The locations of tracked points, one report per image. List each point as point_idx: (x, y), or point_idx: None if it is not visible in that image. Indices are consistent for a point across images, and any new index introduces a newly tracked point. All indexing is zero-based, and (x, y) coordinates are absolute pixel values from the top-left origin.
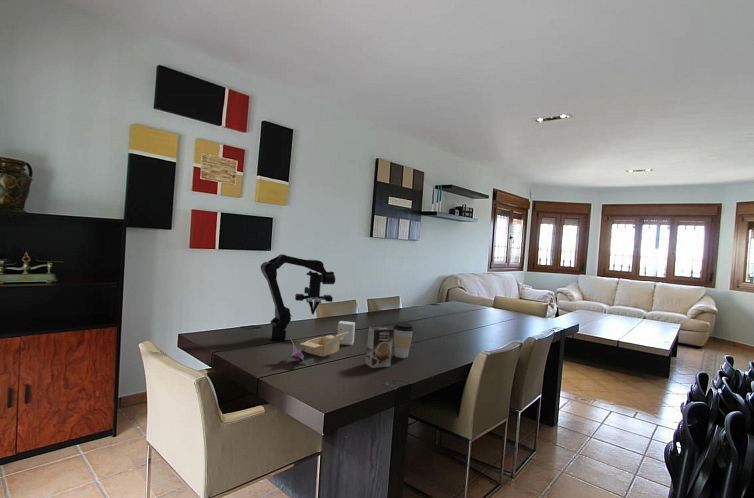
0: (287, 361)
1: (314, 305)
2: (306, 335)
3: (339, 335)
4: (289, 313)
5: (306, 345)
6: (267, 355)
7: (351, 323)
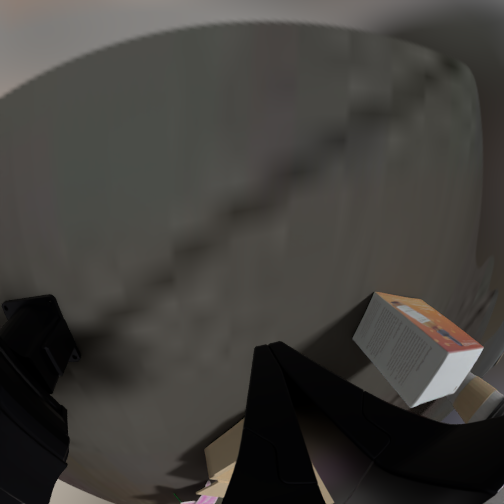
0: (176, 497)
1: (341, 494)
2: (187, 196)
3: (331, 499)
4: (51, 482)
5: (219, 496)
6: (107, 469)
7: (459, 380)
